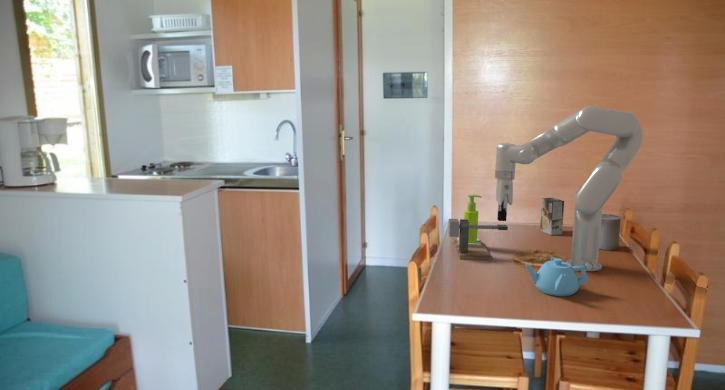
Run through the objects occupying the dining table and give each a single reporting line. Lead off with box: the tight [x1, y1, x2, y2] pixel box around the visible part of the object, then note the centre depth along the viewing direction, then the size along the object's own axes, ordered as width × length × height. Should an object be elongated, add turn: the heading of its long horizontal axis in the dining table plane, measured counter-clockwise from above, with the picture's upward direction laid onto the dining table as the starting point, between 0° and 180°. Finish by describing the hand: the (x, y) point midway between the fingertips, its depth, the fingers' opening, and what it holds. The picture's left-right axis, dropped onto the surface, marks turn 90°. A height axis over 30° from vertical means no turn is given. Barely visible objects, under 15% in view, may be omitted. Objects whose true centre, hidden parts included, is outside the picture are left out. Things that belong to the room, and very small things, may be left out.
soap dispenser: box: [463, 194, 482, 243], centre depth 228 cm, size 6×7×20 cm
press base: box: [452, 218, 491, 261], centre depth 223 cm, size 24×12×14 cm, turn 177°
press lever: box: [447, 218, 509, 238], centre depth 215 cm, size 6×23×6 cm, turn 87°
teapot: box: [525, 256, 589, 297], centre depth 179 cm, size 15×15×11 cm
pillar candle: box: [599, 213, 621, 252], centre depth 228 cm, size 10×10×15 cm
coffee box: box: [539, 197, 565, 236], centre depth 253 cm, size 9×6×16 cm
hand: (501, 220), depth 214 cm, fingers closed
